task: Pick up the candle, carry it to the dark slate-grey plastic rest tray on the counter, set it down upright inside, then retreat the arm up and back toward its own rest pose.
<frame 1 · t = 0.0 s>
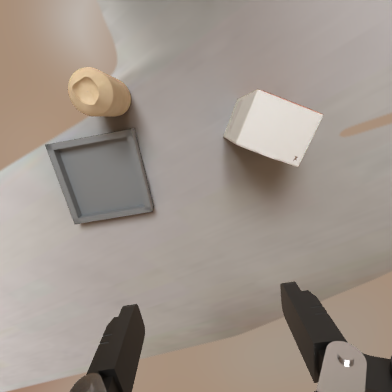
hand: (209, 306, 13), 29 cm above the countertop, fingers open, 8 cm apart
candle: (114, 98, 37), on the countertop
small box: (252, 126, 38), on the countertop
rest tray: (105, 176, 41), on the countertop
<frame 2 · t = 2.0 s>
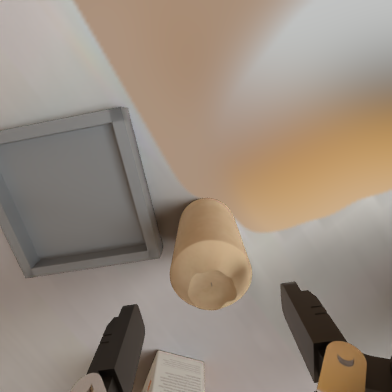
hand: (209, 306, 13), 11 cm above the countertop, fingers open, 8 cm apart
candle: (206, 221, 24), on the countertop
small box: (172, 374, 31), on the countertop
rest tray: (78, 196, 23), on the countertop
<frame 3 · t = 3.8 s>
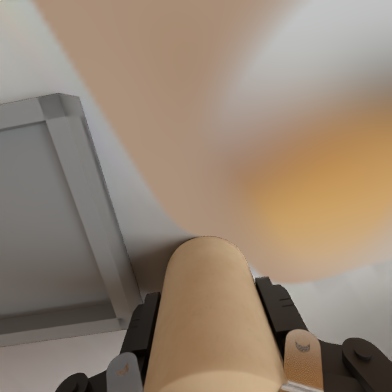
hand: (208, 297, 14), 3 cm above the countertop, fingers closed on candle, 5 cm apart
candle: (207, 269, 16), on the countertop, touching gripper
rest tray: (10, 233, 15), on the countertop
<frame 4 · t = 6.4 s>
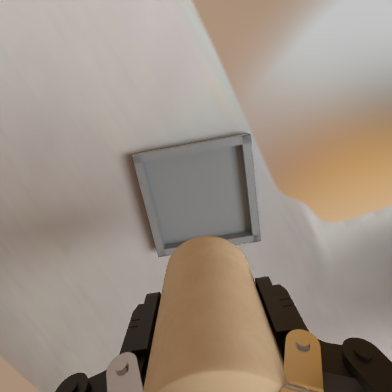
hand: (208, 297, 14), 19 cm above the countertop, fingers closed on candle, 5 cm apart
candle: (207, 268, 16), point 16 cm above the countertop, touching gripper
rest tray: (200, 195, 31), on the countertop
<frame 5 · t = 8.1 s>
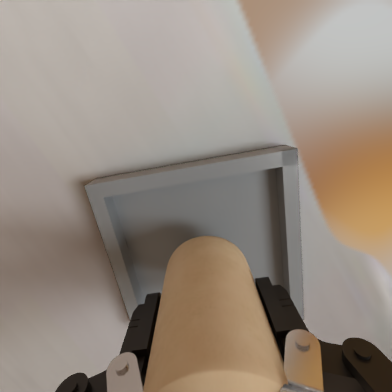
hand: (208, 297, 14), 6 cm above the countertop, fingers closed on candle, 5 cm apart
candle: (207, 268, 16), point 3 cm above the countertop, touching gripper
rest tray: (204, 245, 19), on the countertop
when the fingers open (4 cm above the countertop, at t = 9.3 s): candle drops 1 cm, resting on rest tray.
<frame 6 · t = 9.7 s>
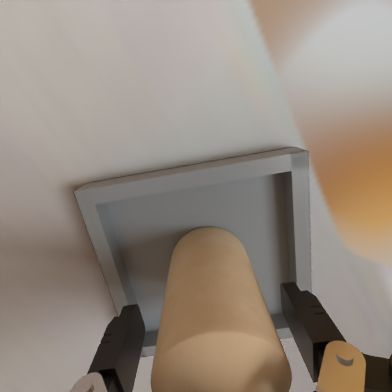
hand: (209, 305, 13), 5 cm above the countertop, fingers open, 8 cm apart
candle: (208, 257, 17), resting on rest tray
rest tray: (205, 254, 18), on the countertop
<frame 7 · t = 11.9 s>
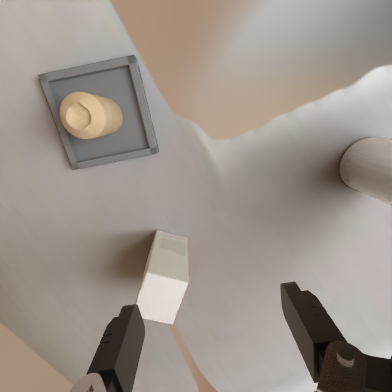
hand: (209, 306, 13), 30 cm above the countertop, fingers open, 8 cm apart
candle: (106, 116, 37), resting on rest tray
small box: (167, 250, 46), on the countertop
rest tray: (105, 116, 37), on the countertop
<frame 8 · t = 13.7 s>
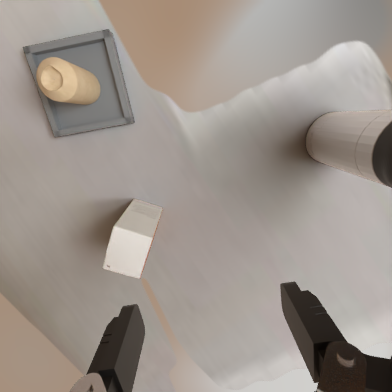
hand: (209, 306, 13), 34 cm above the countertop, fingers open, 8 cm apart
candle: (85, 87, 40), resting on rest tray
small box: (144, 219, 49), on the countertop
rest tray: (85, 88, 41), on the countertop
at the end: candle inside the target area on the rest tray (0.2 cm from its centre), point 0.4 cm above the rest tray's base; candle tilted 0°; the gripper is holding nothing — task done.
